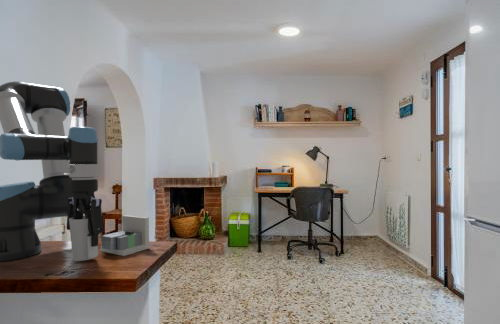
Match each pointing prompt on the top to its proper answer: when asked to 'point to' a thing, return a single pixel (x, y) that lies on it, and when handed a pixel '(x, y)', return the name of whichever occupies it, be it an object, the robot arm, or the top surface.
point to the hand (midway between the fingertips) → (84, 255)
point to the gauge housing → (132, 236)
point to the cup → (79, 238)
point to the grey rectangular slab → (113, 239)
